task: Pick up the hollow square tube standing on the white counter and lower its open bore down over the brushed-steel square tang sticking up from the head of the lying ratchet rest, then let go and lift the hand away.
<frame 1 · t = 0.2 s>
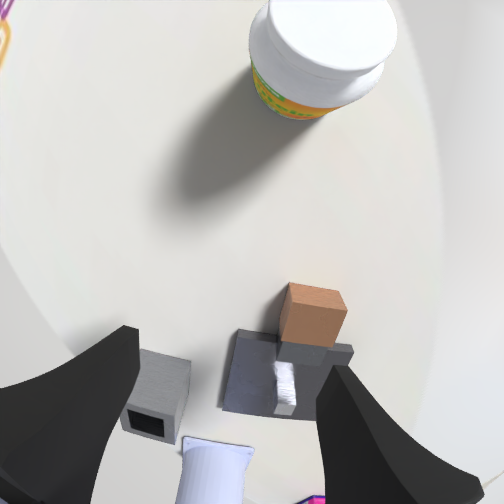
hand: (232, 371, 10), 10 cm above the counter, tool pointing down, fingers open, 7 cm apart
supplement bottle: (298, 79, 15), on the counter
hollow square tube: (165, 372, 23), on the counter
supplement box: (317, 499, 35), on the counter
ratchet rest: (282, 378, 23), on the counter
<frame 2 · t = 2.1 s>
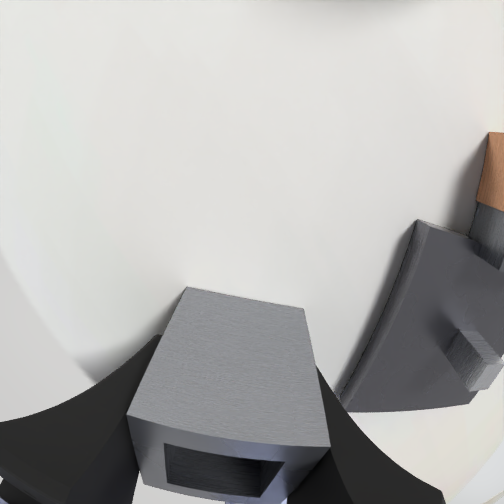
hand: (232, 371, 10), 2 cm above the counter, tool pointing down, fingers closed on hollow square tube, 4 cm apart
hollow square tube: (235, 344, 11), on the counter, touching gripper
ratchet rest: (452, 331, 11), on the counter
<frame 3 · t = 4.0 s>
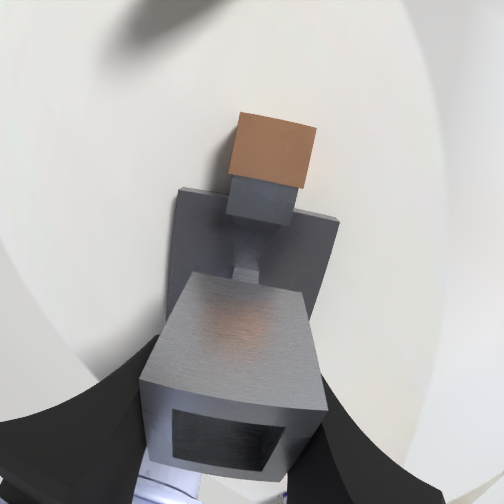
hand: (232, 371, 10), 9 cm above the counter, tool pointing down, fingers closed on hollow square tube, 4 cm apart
hollow square tube: (238, 327, 12), point 6 cm above the counter, touching gripper
ratchet rest: (245, 272, 18), on the counter
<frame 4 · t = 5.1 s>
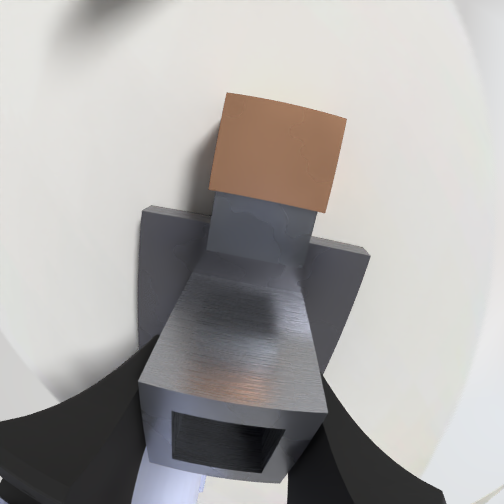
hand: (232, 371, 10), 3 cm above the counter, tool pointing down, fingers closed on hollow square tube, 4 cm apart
hollow square tube: (238, 328, 12), point 1 cm above the counter, touching gripper, ratchet rest
ratchet rest: (239, 319, 13), on the counter
when the fingers open (3 cm above the counter, at t = 5.6 s): hollow square tube stays where it is, resting on ratchet rest.
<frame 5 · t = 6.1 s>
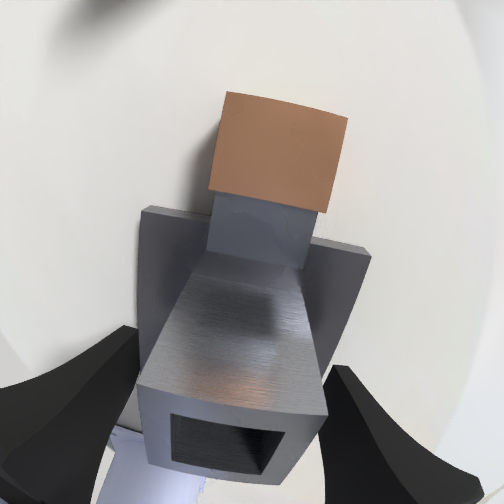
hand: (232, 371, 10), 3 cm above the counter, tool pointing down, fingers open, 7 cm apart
hollow square tube: (237, 329, 12), point 1 cm above the counter, touching ratchet rest
ratchet rest: (239, 319, 13), on the counter
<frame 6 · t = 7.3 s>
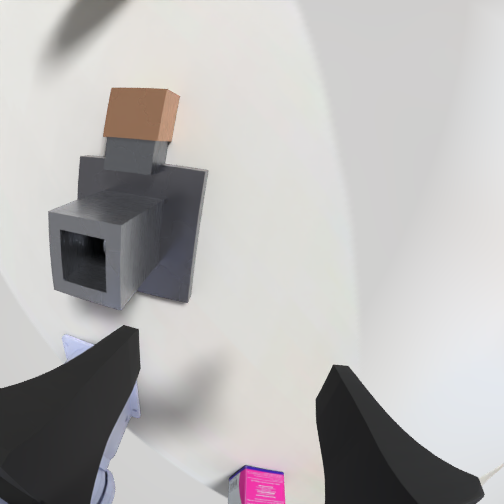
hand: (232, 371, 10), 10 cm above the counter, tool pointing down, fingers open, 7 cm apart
hollow square tube: (130, 226, 18), point 1 cm above the counter, touching ratchet rest
supplement box: (256, 474, 31), on the counter
ratchet rest: (136, 225, 19), on the counter
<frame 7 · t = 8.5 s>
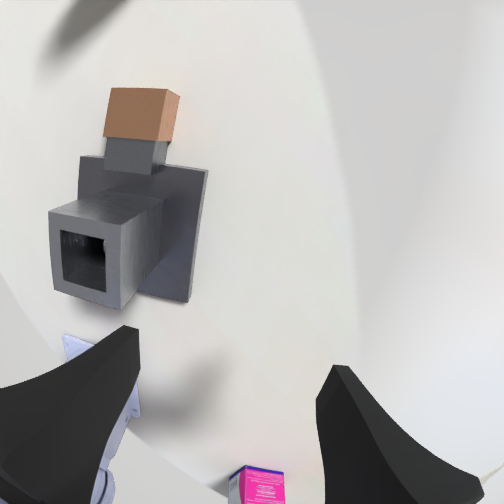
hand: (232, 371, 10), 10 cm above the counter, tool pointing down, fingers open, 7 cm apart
hollow square tube: (130, 226, 18), point 1 cm above the counter, touching ratchet rest
supplement box: (256, 474, 31), on the counter
ratchet rest: (136, 225, 19), on the counter
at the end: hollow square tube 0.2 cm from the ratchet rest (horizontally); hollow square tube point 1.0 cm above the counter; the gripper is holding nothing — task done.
